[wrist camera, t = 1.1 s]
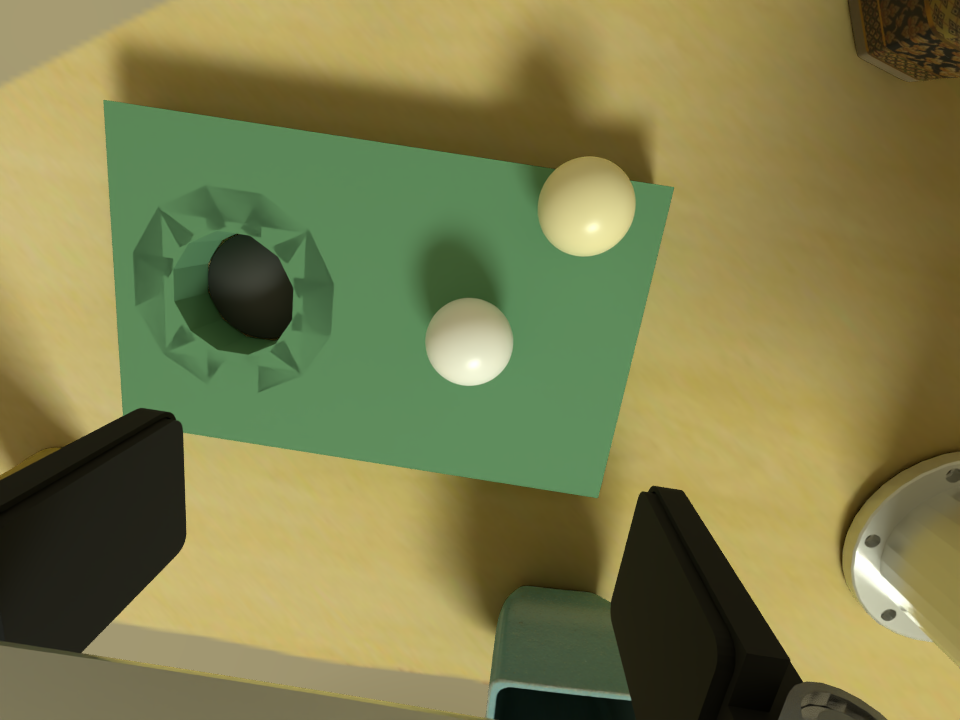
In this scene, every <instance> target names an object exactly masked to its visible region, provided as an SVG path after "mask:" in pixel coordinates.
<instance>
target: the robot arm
mask: <svg viewBox="0 0 960 720" xmlns="http://www.w3.org/2000/svg"><path fill="white" fill-rule="evenodd" d="M185 539H186V509H185V478H184V447H183V427H182V424H181V422H180V421H178V420H176V418H175V416H174V414H172V413H171V412H166V411H159V410H153V409H146V408H139V409H136V410H134V411H132V412H130V413H128V414H126V415H124V416H122V417H120V418H118V419H117V420H115V421H113V422H111V423H109V424H107V425H105V426H103V427H101V428H99V429H97V430H95V431H94V432H92V433H90V434H88V435H86V436H84V437H82V438H80V439H78V440H76V441H74V442H72V443H71V444H69V445H67V446H65V447H63V448H61V449H59V450H57V451H55V452H53V453H51V454H49V455H47V456H46V457H44V458H42V459H40V460H38V461H36V462H34V463H32V464H30V465H28V466H26V467H24V468H23V469H21V470H19V471H17V472H15V473H13V474H11V475H9V476H7V477H5V478H3V479H1V480H0V720H495V719H489V718H483V717H477V716H471V715H465V714H459V713H453V712H447V711H441V710H435V709H429V708H423V707H417V706H410V705H405V704H399V703H393V702H387V701H381V700H375V699H369V698H362V697H356V696H350V695H344V694H337V693H331V692H325V691H319V690H313V689H306V688H300V687H294V686H288V685H282V684H275V683H269V682H263V681H256V680H250V679H244V678H237V677H231V676H225V675H218V674H212V673H205V672H200V671H193V670H187V669H181V668H174V667H168V666H161V665H155V664H148V663H141V662H135V661H128V660H122V659H116V658H109V657H102V656H96V655H89V654H83V653H82V651H83V650H84V649H85V648H86V647H87V646H88V645H89V644H90V643H91V642H92V641H93V640H94V639H95V638H96V637H97V636H98V635H99V634H100V633H101V632H102V631H103V630H104V629H105V628H106V627H107V626H108V625H109V624H110V623H111V622H112V621H113V620H114V619H115V618H116V617H117V616H118V615H119V614H120V613H121V612H122V611H123V610H124V608H125V607H126V606H127V605H128V604H129V603H130V602H131V601H132V600H133V599H134V598H135V597H136V596H137V595H138V594H139V593H140V592H141V591H142V590H143V589H144V588H145V587H146V586H147V585H148V584H149V583H150V582H151V581H152V580H153V579H154V578H155V577H156V576H157V575H158V574H159V573H160V572H161V571H162V570H163V569H164V568H165V567H166V565H167V564H168V563H169V562H170V561H171V560H172V559H173V558H174V557H175V556H176V555H177V554H178V553H179V552H180V550H181V549H182V547H183V545H184V542H185ZM843 572H844V576H845V580H846V584H847V585H848V587H849V589H850V591H851V593H852V595H853V597H854V598H855V599H856V600H857V602H858V603H859V604H860V605H861V606H862V607H863V609H864V610H865V611H866V612H867V613H868V614H869V615H870V616H871V617H872V618H873V619H874V620H875V621H876V622H877V623H879V624H880V625H882V626H884V627H885V628H887V629H889V630H891V631H892V632H894V633H896V634H899V635H902V636H905V637H908V638H911V639H915V640H921V641H928V642H934V643H935V644H936V645H937V646H938V647H939V648H940V649H941V650H942V651H943V652H944V653H945V654H946V655H947V656H948V657H949V658H950V659H951V660H952V661H953V662H954V663H955V664H956V665H957V666H958V667H959V668H960V451H959V452H953V453H948V454H943V455H940V456H937V457H934V458H931V459H928V460H925V461H922V462H920V463H918V464H916V465H914V466H912V467H910V468H908V469H906V470H904V471H902V472H901V473H899V474H898V475H896V476H895V477H893V478H892V479H891V480H889V481H888V482H886V483H885V484H884V485H882V486H881V487H880V488H879V489H878V490H877V491H876V492H875V493H874V494H873V495H872V496H871V497H870V498H869V499H868V500H867V501H866V502H865V504H864V505H863V506H862V508H861V509H860V511H859V512H858V513H857V515H856V516H855V518H854V520H853V522H852V524H851V526H850V528H849V530H848V532H847V535H846V539H845V544H844V548H843ZM610 614H611V622H612V626H613V630H614V634H615V638H616V642H617V646H618V650H619V654H620V658H621V662H622V666H623V669H624V673H625V677H626V681H627V685H628V689H629V693H630V697H631V701H632V705H633V709H634V713H635V717H636V720H887V719H886V718H885V717H884V716H883V715H882V714H881V713H879V712H878V711H877V710H875V709H874V708H872V707H871V706H869V705H868V704H866V703H865V702H864V701H862V700H861V699H859V698H857V697H855V696H853V695H851V694H849V693H847V692H845V691H843V690H841V689H839V688H836V687H833V686H830V685H827V684H824V683H817V682H804V683H803V681H802V680H801V678H800V676H799V675H798V673H797V672H796V670H795V668H794V667H793V665H792V664H791V662H790V659H789V657H788V655H787V654H786V652H785V651H784V649H783V647H782V646H781V644H780V643H779V641H778V640H777V638H776V636H775V635H774V633H773V632H772V630H771V629H770V627H769V625H768V624H767V622H766V621H765V619H764V617H763V616H762V614H761V613H760V611H759V610H758V608H757V606H756V605H755V603H754V602H753V600H752V599H751V597H750V595H749V594H748V592H747V591H746V589H745V587H744V586H743V584H742V583H741V581H740V580H739V578H738V576H737V575H736V573H735V572H734V570H733V569H732V567H731V565H730V564H729V562H728V561H727V559H726V557H725V556H724V554H723V553H722V551H721V550H720V548H719V546H718V545H717V543H716V542H715V540H714V539H713V537H712V535H711V534H710V532H709V531H708V529H707V527H706V526H705V524H704V523H703V521H702V520H701V518H700V516H699V515H698V513H697V512H696V510H695V509H694V507H693V505H692V504H691V502H690V501H689V499H688V497H687V496H686V494H685V493H684V492H683V491H682V490H677V489H671V488H664V487H658V486H652V487H651V488H650V489H649V491H648V492H643V491H642V492H641V493H640V495H639V497H638V500H637V504H636V508H635V512H634V516H633V519H632V523H631V527H630V531H629V535H628V539H627V542H626V546H625V550H624V554H623V558H622V562H621V565H620V569H619V573H618V577H617V581H616V585H615V588H614V592H613V596H612V600H611V608H610Z"/></svg>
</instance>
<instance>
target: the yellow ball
mask: <svg viewBox="0 0 960 720" xmlns="http://www.w3.org/2000/svg"><path fill="white" fill-rule="evenodd" d="M635 207H636V200H635V193H634V189H633V186H632V183H631V182H630V180H629V178H628V176H627V175H626V174H625V172H624V171H623V170H622V169H621V168H620V167H618V166H617V165H616V164H615V163H613V162H611V161H609V160H607V159H604V158H600V157H594V156H585V157H579V158H575V159H572V160H570V161H568V162H566V163H564V164H562V165H561V166H559V167H558V168H557V169H556V170H555V171H553V173H552V174H551V175H550V176H549V177H548V179H547V180H546V182H545V183H544V185H543V187H542V190H541V192H540V196H539V200H538V219H539V223H540V226H541V229H542V231H543V233H544V235H545V236H546V238H547V239H548V240H549V242H550V243H551V244H553V245H554V246H555V247H556V248H557V249H559V250H561V251H562V252H564V253H567V254H570V255H574V256H582V257H585V256H594V255H598V254H601V253H603V252H605V251H607V250H609V249H611V248H612V247H614V246H615V245H616V244H617V243H618V242H619V241H620V240H621V239H622V238H623V237H624V236H625V234H626V233H627V231H628V230H629V228H630V226H631V224H632V221H633V218H634V214H635Z"/></svg>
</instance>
